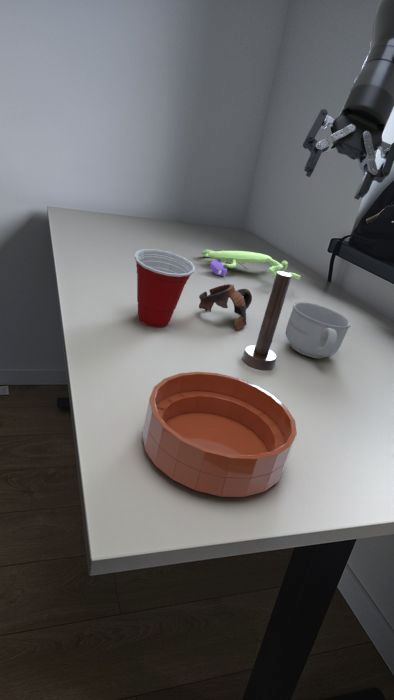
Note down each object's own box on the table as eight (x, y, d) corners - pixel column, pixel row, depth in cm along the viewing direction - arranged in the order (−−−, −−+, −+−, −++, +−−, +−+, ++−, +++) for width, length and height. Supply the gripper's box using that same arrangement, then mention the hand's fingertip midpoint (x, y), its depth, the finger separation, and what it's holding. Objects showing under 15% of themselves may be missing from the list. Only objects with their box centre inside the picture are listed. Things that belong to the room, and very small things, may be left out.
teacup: (280, 333, 99) (292, 296, 95) (333, 346, 98) (347, 309, 95) (282, 363, 86) (295, 322, 83) (342, 378, 86) (358, 337, 82)
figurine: (296, 296, 123) (302, 275, 121) (192, 270, 124) (197, 249, 122) (294, 276, 140) (300, 257, 137) (202, 253, 141) (207, 234, 139)
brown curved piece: (231, 337, 93) (218, 296, 90) (197, 337, 100) (184, 299, 97) (268, 313, 100) (257, 274, 98) (235, 315, 107) (224, 279, 105)
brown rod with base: (261, 353, 88) (286, 268, 81) (280, 368, 84) (308, 280, 77) (236, 355, 85) (260, 267, 79) (254, 371, 81) (281, 280, 74)
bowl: (232, 403, 71) (242, 367, 68) (310, 484, 58) (326, 443, 55) (120, 419, 62) (127, 378, 59) (184, 518, 49) (196, 471, 46)
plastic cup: (140, 336, 84) (152, 269, 79) (115, 310, 92) (124, 247, 87) (193, 332, 90) (207, 270, 85) (165, 308, 98) (177, 250, 93)
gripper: (339, 65, 76) (298, 154, 74) (423, 104, 76) (384, 194, 74) (324, 96, 84) (287, 177, 82) (400, 131, 84) (365, 213, 82)
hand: (333, 185), depth 78 cm, fingers open, 8 cm apart
